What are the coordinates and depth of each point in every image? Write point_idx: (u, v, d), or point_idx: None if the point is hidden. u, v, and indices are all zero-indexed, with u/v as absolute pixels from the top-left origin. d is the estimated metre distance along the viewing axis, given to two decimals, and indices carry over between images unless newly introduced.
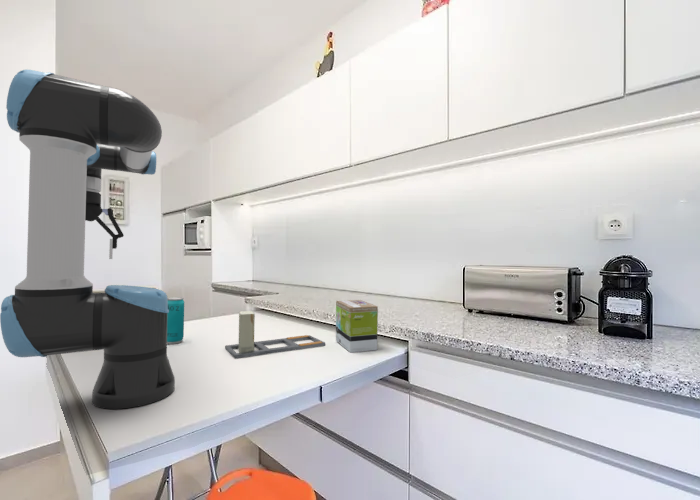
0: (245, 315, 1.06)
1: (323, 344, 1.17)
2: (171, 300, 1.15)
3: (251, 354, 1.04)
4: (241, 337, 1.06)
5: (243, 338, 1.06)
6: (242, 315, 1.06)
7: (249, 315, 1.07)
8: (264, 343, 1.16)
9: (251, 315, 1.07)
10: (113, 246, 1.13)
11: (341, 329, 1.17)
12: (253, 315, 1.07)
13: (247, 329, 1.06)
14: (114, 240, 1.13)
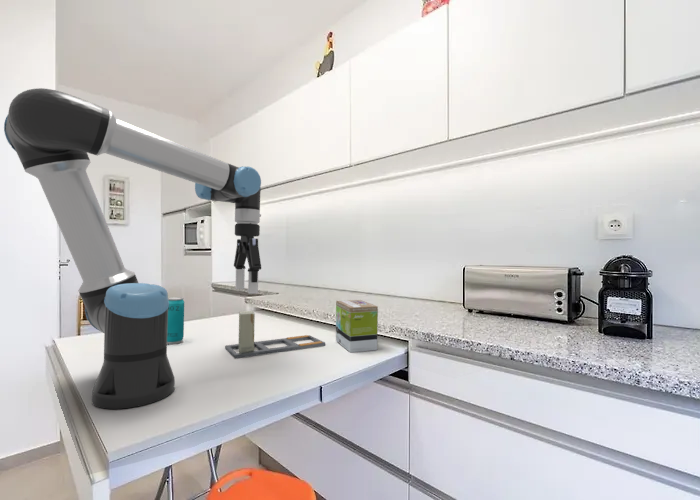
0: (245, 315, 1.06)
1: (323, 344, 1.17)
2: (171, 300, 1.15)
3: (251, 354, 1.04)
4: (241, 337, 1.06)
5: (243, 338, 1.06)
6: (242, 315, 1.06)
7: (249, 315, 1.07)
8: (264, 343, 1.16)
9: (251, 315, 1.07)
10: (251, 279, 1.03)
11: (341, 329, 1.17)
12: (253, 315, 1.07)
13: (247, 329, 1.06)
14: (252, 273, 1.03)
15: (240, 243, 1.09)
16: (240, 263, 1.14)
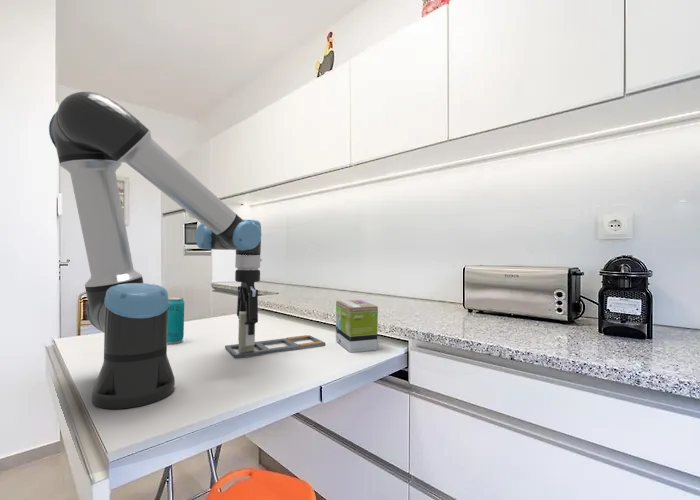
0: (245, 315, 1.06)
1: (323, 344, 1.17)
2: (171, 300, 1.15)
3: (251, 354, 1.04)
4: (241, 337, 1.06)
5: (243, 338, 1.06)
6: (242, 315, 1.06)
7: None
8: (264, 343, 1.16)
9: None
10: (248, 332, 1.05)
11: (341, 329, 1.17)
12: None
13: None
14: (249, 326, 1.05)
15: (240, 288, 1.09)
16: None
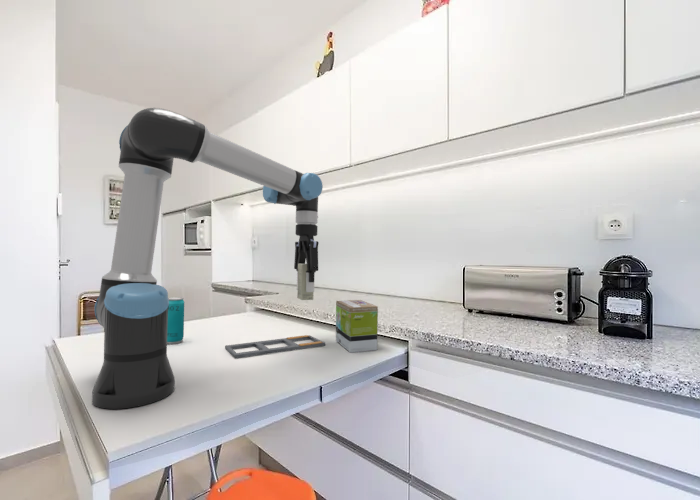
0: (306, 265, 1.17)
1: (323, 344, 1.17)
2: (171, 300, 1.15)
3: (251, 354, 1.04)
4: (302, 285, 1.17)
5: (304, 286, 1.17)
6: (303, 265, 1.17)
7: None
8: (264, 343, 1.16)
9: None
10: (309, 280, 1.16)
11: (341, 329, 1.17)
12: None
13: None
14: (309, 274, 1.16)
15: (300, 241, 1.20)
16: None
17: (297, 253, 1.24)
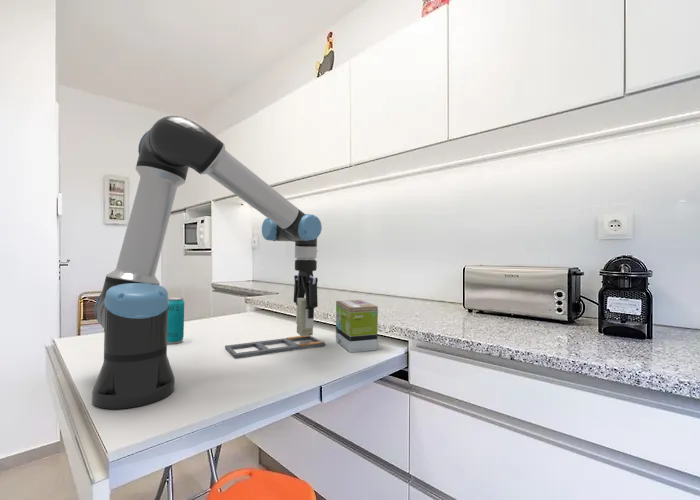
0: (305, 301, 1.17)
1: (323, 344, 1.17)
2: (171, 300, 1.15)
3: (251, 354, 1.04)
4: (302, 321, 1.17)
5: (304, 322, 1.17)
6: (303, 301, 1.17)
7: None
8: (264, 343, 1.16)
9: None
10: (308, 316, 1.16)
11: (341, 329, 1.17)
12: None
13: None
14: (309, 310, 1.16)
15: (299, 276, 1.20)
16: None
17: (296, 287, 1.24)
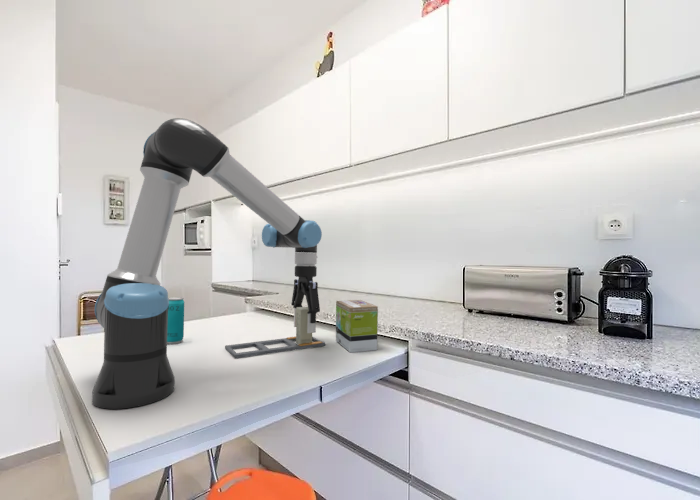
0: (304, 310, 1.17)
1: (323, 344, 1.17)
2: (171, 300, 1.15)
3: (251, 354, 1.04)
4: (301, 330, 1.17)
5: (303, 331, 1.17)
6: (302, 310, 1.17)
7: (308, 310, 1.18)
8: (264, 343, 1.16)
9: None
10: (310, 320, 1.15)
11: (341, 329, 1.17)
12: None
13: (306, 323, 1.17)
14: (311, 315, 1.14)
15: (299, 283, 1.20)
16: (298, 302, 1.24)
17: (295, 291, 1.25)
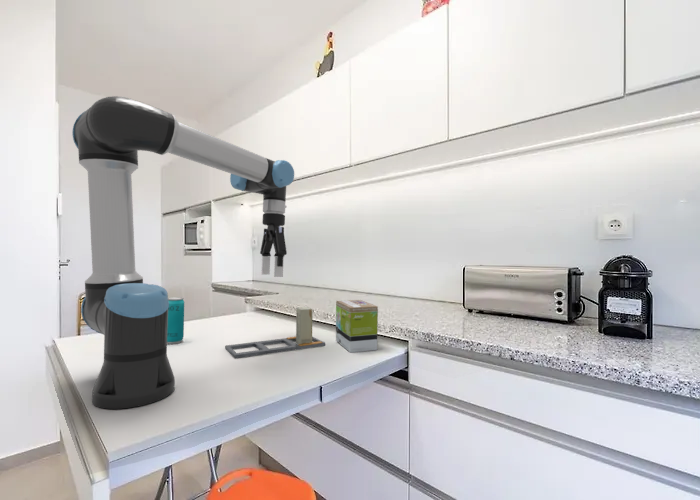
0: (304, 310, 1.17)
1: (323, 344, 1.17)
2: (171, 300, 1.15)
3: (251, 354, 1.04)
4: (301, 330, 1.17)
5: (303, 331, 1.17)
6: (302, 310, 1.17)
7: (308, 310, 1.18)
8: (264, 343, 1.16)
9: (310, 310, 1.18)
10: (277, 264, 1.12)
11: (341, 329, 1.17)
12: (311, 310, 1.18)
13: (306, 323, 1.17)
14: (278, 258, 1.12)
15: (267, 231, 1.19)
16: (266, 250, 1.24)
17: (264, 240, 1.25)
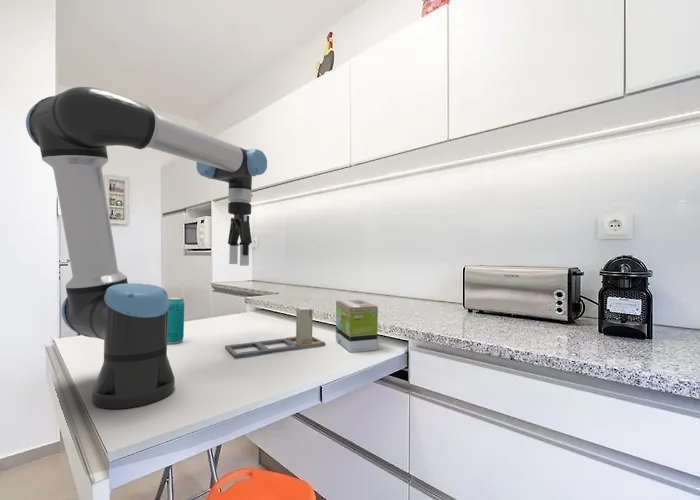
0: (304, 310, 1.17)
1: (323, 344, 1.17)
2: (171, 300, 1.15)
3: (251, 354, 1.04)
4: (301, 330, 1.17)
5: (303, 331, 1.17)
6: (302, 310, 1.17)
7: (308, 310, 1.18)
8: (264, 343, 1.16)
9: (310, 310, 1.18)
10: (242, 253, 1.12)
11: (341, 329, 1.17)
12: (311, 310, 1.18)
13: (306, 323, 1.17)
14: (243, 246, 1.12)
15: (233, 220, 1.18)
16: (233, 240, 1.24)
17: (231, 230, 1.24)
